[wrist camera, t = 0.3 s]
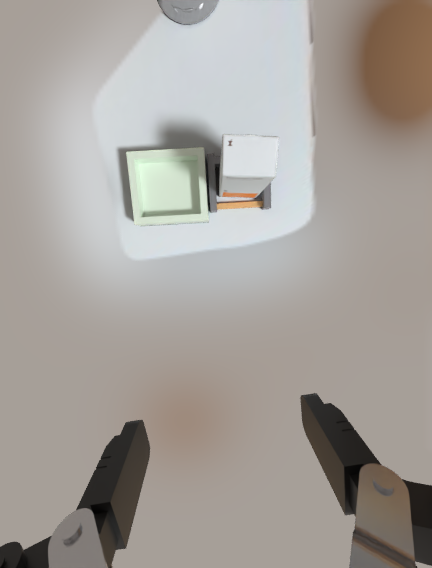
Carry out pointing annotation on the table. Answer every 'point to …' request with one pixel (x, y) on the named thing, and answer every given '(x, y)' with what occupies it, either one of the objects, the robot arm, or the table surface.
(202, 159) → the parts tray
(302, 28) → the table surface
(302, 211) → the table surface
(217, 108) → the table surface
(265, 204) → the grey shallow square tray
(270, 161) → the skincare box
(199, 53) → the table surface
